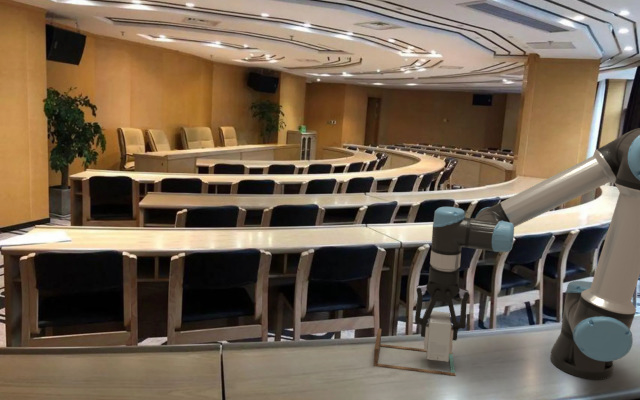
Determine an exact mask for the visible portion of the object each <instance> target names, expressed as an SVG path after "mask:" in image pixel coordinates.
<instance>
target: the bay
mask: <svg viewBox="0 0 640 400" xmlns="http://www.w3.org/2000/svg"><path fill="white" fill-rule="evenodd" d="M381 340H382V328H377V332H376V338H375V342H374V343H375V344H374V353H373V367H379V368H385V369H394V370H402V371H410V372H420V373H425V374H426V373H427V374H433V375H434V374H435V375H442V376H443V375H444V376H449V377H451V376H452V377H456V369H455V362H454V355H453V352H451V353H449V360H448V361H449V368H450V371H441V370H435V369H434V370H433V369H424V368H417V367H411V366H410V367H408V366H400V365H393V364H385V363H379V358H380V352H381V351H380V350H381V348H389V349H396V350H405V351H414V352H415V351H416V352H422V353H427V350H424V348H418V347H411V346H410V347H407V346H400V345H391V344H382V343H381Z"/></svg>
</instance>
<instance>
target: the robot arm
mask: <svg viewBox="0 0 640 400" xmlns="http://www.w3.org/2000/svg"><path fill="white" fill-rule="evenodd" d="M609 183H611V184H614V185H615V187H616V188H617V190H618V192H619V194H618V197H617V199H616V200H617V201H616V203H615V206H614V209H613V210H614V211H613V214H612V217H611V220H610V223H609V226H608V230H607V233H606V236H605V240H604V243H603V247H602V249H601V252H600V256H599V258H598V262H597V265H596V269H595V272H594V275H593V278H592V281H585V280H575V281H570V282H568V283H567V287H566V290H565V298H564V306H563V313H562V314H563V315H562V320H561V321H562V322H561V327H560V328H561V329H560V334H559V335H558V337H557V338H556V341H555V342H554V344H553V346H552V347H551V351H550V356H549V357H550V358H549V359H550V361H551V363H552V364H553V365H554V366H555V367H556V368H558V369H559V370H561V371H563V372H565V373H566V374H569V375H572V376H574V377H578V378H582V379H588V380H606V379H608V378H611V376H612V375H613V372H614V367H615V366H614V365H615V364H614V361H616V360H619V359H622V358H624V357H625V356H626V355H627V354H628V353H630V351H631V349H632V347H633V340H634V339H633V333H632V331H631V326H632V325H633V321H634V318H635V315H636V311H637V309H636V307H635V305H634V303H633V302H632V299H633V295H634V293H635V291H636V286H637V285H638V280H639V277H640V127H638V128H635V129H632V130H630V131H628V132H626V133H624V134H622V135H621V136H619V137H617V138H615V139H613V140H611V141H609V143H607V144H604V145H602V146H601V147H599V148H596V149H595V150H594V153H593V154H592V156H591V157H588V158H587V159H584V160H582V161H581V162H579V163H576V164H574V165H572V166H571V167H569V168H567V169H564V170H562V171H560V172H558V173H556V174H554V175H553V176H551V177H548V178H547V179H544V180H542V181H540V182H539V183H537V184H535V185H532V186H530V187H529V188H527V189H525V190H522V191H521V192H519V193H517V194H514V195H513V196H510V197H509V198H507V199H505V200H503V201H501V202H499V203H497V204H495V205H493V206H487V207H484V208H482V209H480V210H479V211H478V212H477V214H476V215H475V218H471V217H466V214H465V213H466V212H465V210H463V208H460V207H454V206H441V207H438V208H437V209H436V210H434V216H433V223H432V234H431V237H432V238H431V250H430V259H429V260H430V261H429V265H430V266H429V271H428V280H427V283H426V284H425V285H420V284H418V285H416V294H417V299H416V306H415V307H416V308H415V315H414V322H415V323H416V324H419V325H420V337H421V338H424V341H423V349H424V350H427V344H428V332H429V323H428V321H429V317H430V315H431V313H432V311H434V310H433V309H434V308H435V305H436V303H437V302H444V303H447V306H448V309H449V313H450V318H451V336H450V348H449V353H451V352H452V351H453V350H452V349H453V341H455V342H456V341H457V340H458V333H459V330H460V329H465V328H466V322H467V304H468V303H467V302H468V300H469V298H470V293H469V290H468V289H463V288H460V286H459V280H460V269H459V268H460V267H461V256H462V248H466V249H467V248H468V249H473V250H475V249H476V250H483V251H489V252H494V253H498V252H499V253H509V252H511V251H512V249H513V247H514V246H513V245H514V237H515V227H518V226H520V225H522V224H524V223H526V222H529V221H531V220H532V219H535V218H536V217H538V216H541V215H543V214H545V213H547V212H550V211H551V210H553V209H555V208H558V207H560V206H562V205H564V204H566V203H568V202H570V201H573V200H575V199H577V198H579V197H581V196H583V195H585V194H587V193H590V192H591V191H594V190H596V189H598V188H600V187H602V186H604V185H607V184H609ZM426 291H427V292H428V294H429V296H430V299H429V301H428V304H427V307H426V309H425V311H424V314H423V315H422V317H421V314H422V313H421V312H422V306H423V299H424V298H423V295H425V294H426ZM458 294H459V298H460V311H459V312H460V313H459V314H460V315H459V318H460V319H459V321H458V319H457V316H456V310H455V307H454V302H453V299H454V298H455V297H456V296H457V295H458ZM452 353H453V352H452Z"/></svg>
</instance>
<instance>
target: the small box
mask: <svg viewBox="0 0 640 400" xmlns="http://www.w3.org/2000/svg"><path fill="white" fill-rule="evenodd" d="M427 323H429V332H428V344H427V352H426V359H427V360H429V361H430V360H431V361H441V362H449V361H450V360H449V348H450V336H451V326H452V319H451V315H450V312H445V311H437V310H432V313H431V315H430V317H429V320H428V322H427Z"/></svg>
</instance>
